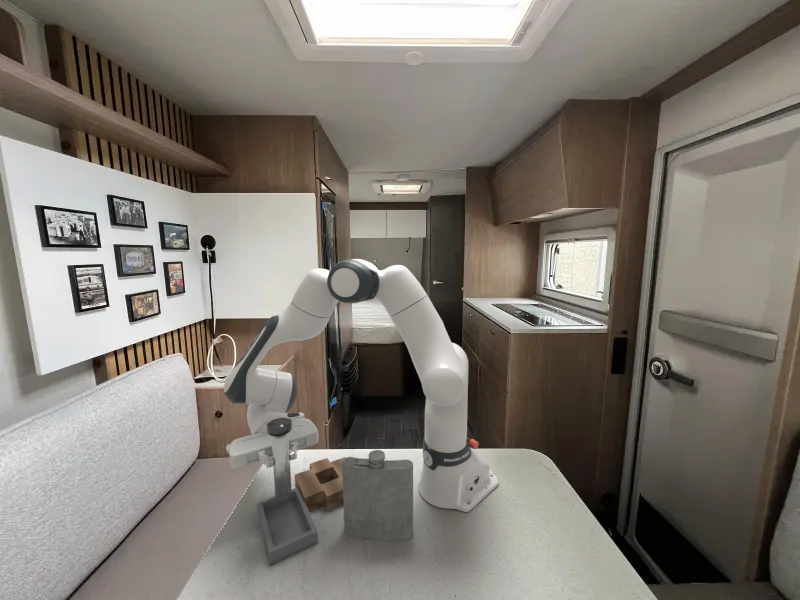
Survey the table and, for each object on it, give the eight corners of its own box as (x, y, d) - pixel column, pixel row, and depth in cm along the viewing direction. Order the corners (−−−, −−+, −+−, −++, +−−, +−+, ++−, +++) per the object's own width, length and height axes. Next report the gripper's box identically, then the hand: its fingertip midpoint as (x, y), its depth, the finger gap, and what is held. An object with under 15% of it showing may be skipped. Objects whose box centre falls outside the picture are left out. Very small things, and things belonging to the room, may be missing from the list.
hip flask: (413, 528, 76) (413, 449, 73) (412, 544, 72) (412, 461, 69) (346, 524, 77) (343, 446, 74) (341, 539, 73) (338, 457, 70)
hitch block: (342, 464, 99) (342, 452, 98) (364, 495, 86) (363, 481, 86) (293, 482, 91) (292, 469, 90) (308, 519, 78) (307, 504, 78)
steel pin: (292, 483, 79) (288, 415, 76) (297, 496, 74) (294, 425, 72) (269, 491, 76) (264, 421, 73) (273, 506, 71) (269, 432, 69)
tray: (298, 497, 86) (298, 487, 85) (317, 543, 72) (317, 531, 72) (257, 513, 80) (257, 502, 80) (270, 565, 67) (269, 553, 66)
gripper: (224, 432, 79) (229, 463, 67) (308, 410, 89) (325, 434, 78) (226, 455, 80) (231, 490, 68) (309, 431, 90) (326, 458, 79)
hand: (282, 460), depth 73 cm, fingers closed on steel pin, 4 cm apart
